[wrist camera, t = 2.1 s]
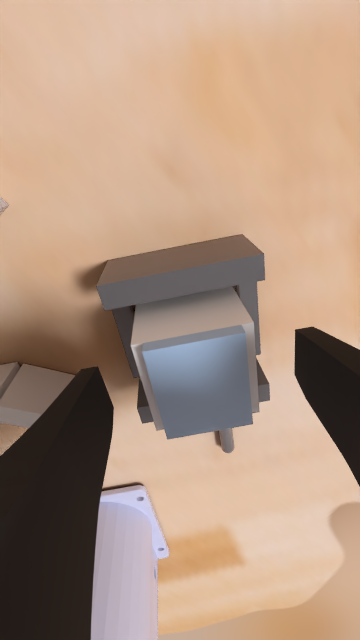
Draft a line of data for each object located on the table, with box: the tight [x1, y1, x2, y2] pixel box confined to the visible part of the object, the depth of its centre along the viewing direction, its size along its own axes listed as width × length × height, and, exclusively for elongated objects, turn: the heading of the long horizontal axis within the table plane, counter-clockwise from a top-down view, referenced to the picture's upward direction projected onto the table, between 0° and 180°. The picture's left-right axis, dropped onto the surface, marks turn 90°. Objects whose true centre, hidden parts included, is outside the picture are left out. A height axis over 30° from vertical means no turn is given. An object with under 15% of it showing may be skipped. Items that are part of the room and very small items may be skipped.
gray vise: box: [96, 234, 270, 453], centre depth 15 cm, size 13×7×3 cm, turn 10°
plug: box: [131, 286, 259, 439], centre depth 13 cm, size 4×4×6 cm
